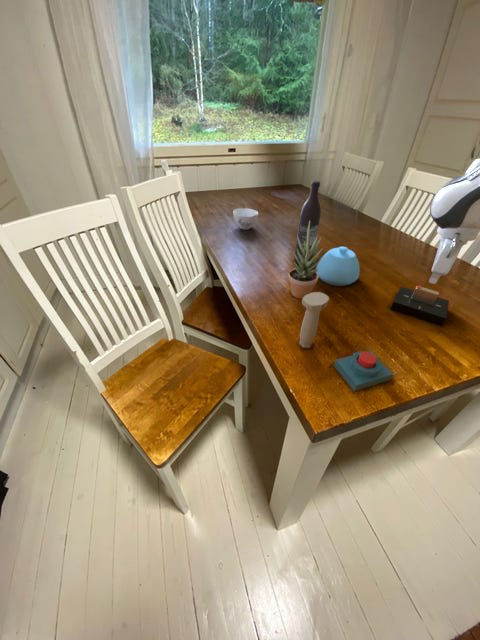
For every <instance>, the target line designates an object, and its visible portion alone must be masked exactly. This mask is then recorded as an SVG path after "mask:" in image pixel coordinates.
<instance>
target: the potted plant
mask: <svg viewBox="0 0 480 640" xmlns="http://www.w3.org/2000/svg"><path fill="white" fill-rule="evenodd" d="M318 238H319V237H318V235H317V236H316V240H315V241H314V244H313V245H312V247H311V249H310V243H311V239H310V221H309V224H308V231H307V244H306V241H305V242H304V248H303V246H302V244H301V242H300V240H299V237H298V236H296V240H297V239H298V243H299V246H300V249H301V252H302V254H303V256H302V255H301V254H300V252H299V250H298V249H297V254H298V257H299V259H300V261H301V262H300V261H299V259H298V258H297V256H296V254H295V250H292V254H293V257H294V256H295V258H296V260H297V261H298V263H299V265H300V266H298V265H297V264H296V263H295V262H294V261H293V264H294V263H295V264H294V265H295V266H296V267H294V268H293V269H291V270H289V271H288V281H289V284H290V288H291V289H290V291H291V295H292V296H293V297H294V298H298V299H303V297H304V296H305V295H307V294H309V293H312V291H313V289H314V287H315V285H316V284H317V283H318V281H319V279H320V278H319V276H318V273H317V272H316V271H318V270H317V269H318V268H317V265H318V263H319V262H320V260H321V258H322V257H323V256H324V255H325V254H324V253H321V252H322V251H323V247H321V249H320V250H319V246H320V243H321V241H322V237H320V238H319V239H318ZM318 250H319V251H318ZM320 254H321V255H320ZM319 255H320V256H319ZM315 267H316V268H317V269H316V268H315ZM314 268H315V269H314Z"/></svg>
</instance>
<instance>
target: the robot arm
mask: <svg viewBox="0 0 480 640" xmlns="http://www.w3.org/2000/svg"><path fill="white" fill-rule="evenodd" d="M429 214H430V217H431V219H432V220H433V222H434V224H436V226H437V229H436V233H437V234H438V235H439V237H438V239H439V240H440V241H439V244H438V247H437V251H436V253H435V257H434V261H433V264H432V266H431V272H432V274H431V275H430V277H429V279H428V283H429V284H432V285H436V284H437V282H438V281H439V279H440V278H441V276H447V275H448V274H449V273H450V271H451V269H452V267H453V266H454V263H455V262H456V260H457V258H458V257H459V254H460V252H461V249H462V246H466V245H468V242H472V241H475V240H476V239H477V238H478V236H479V234H480V157H478V158H475V159H474V160H473V162H472V163H471V164H470V165H469V166H468V168H467V169H466V171H465V173H464V174H462V175H460V176H456V177H454V178H452V179H451V180H449V181H447V182H446V183H445V184H444V185H443V186H442V187H440V188H439V189H438V190H437V191H436V193H435V194H434V196H433V198H432V199H431V202H430V206H429Z"/></svg>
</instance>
